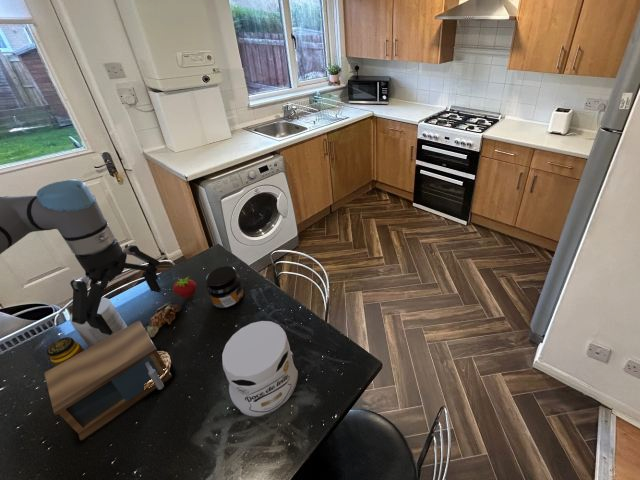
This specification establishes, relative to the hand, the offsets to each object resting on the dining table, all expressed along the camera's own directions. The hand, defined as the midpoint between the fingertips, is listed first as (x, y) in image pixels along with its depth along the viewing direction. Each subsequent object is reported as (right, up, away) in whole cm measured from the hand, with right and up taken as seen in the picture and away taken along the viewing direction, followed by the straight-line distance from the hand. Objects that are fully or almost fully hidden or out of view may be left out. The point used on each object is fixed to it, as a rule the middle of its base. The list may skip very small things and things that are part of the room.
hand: (133, 310), depth 80 cm
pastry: (-10, -13, +24) cm, 29 cm away
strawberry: (-6, -8, +33) cm, 35 cm away
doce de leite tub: (+33, -24, +6) cm, 41 cm away
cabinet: (-8, -23, +6) cm, 25 cm away
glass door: (+2, -23, +3) cm, 24 cm away
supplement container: (+9, -9, +32) cm, 35 cm away
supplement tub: (-21, -17, +18) cm, 32 cm away
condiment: (-24, -21, +9) cm, 33 cm away
